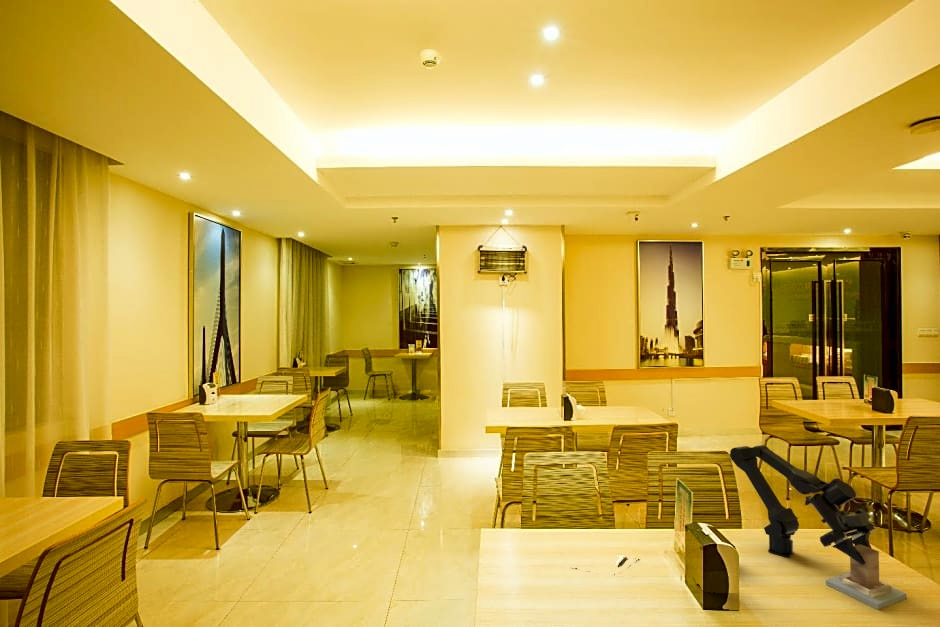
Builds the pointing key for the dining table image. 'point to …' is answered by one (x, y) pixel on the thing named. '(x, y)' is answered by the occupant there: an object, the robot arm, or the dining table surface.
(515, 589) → the dining table surface
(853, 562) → the walnut block
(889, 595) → the grey square framed tray
